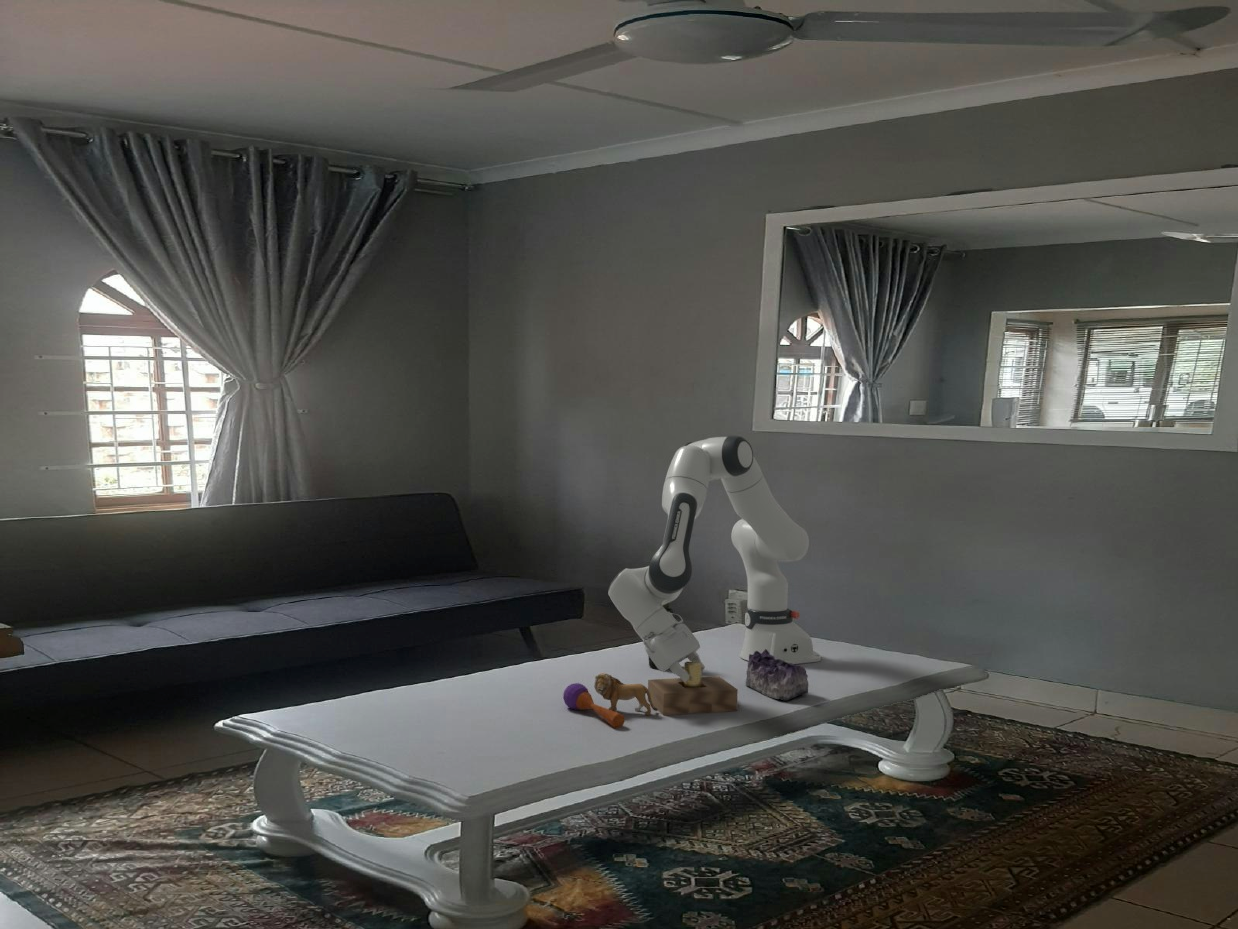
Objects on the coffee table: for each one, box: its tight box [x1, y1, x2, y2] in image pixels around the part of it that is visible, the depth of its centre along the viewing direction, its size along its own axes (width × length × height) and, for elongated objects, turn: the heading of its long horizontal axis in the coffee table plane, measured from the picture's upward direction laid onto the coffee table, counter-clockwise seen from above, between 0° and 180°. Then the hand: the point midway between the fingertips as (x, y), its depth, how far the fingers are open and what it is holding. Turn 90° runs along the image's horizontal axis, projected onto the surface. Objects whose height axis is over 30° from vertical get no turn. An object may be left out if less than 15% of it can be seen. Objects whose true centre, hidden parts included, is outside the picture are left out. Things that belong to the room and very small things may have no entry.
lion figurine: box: [594, 672, 658, 716], centre depth 246 cm, size 15×5×9 cm, turn 92°
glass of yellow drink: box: [683, 661, 703, 688], centre depth 252 cm, size 4×4×10 cm
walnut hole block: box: [647, 675, 739, 716], centre depth 252 cm, size 18×12×5 cm, turn 105°
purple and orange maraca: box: [562, 682, 626, 729], centre depth 242 cm, size 6×6×20 cm
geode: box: [745, 649, 809, 702], centre depth 267 cm, size 20×12×10 cm, turn 29°
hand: (695, 675), depth 252 cm, fingers open, 8 cm apart
